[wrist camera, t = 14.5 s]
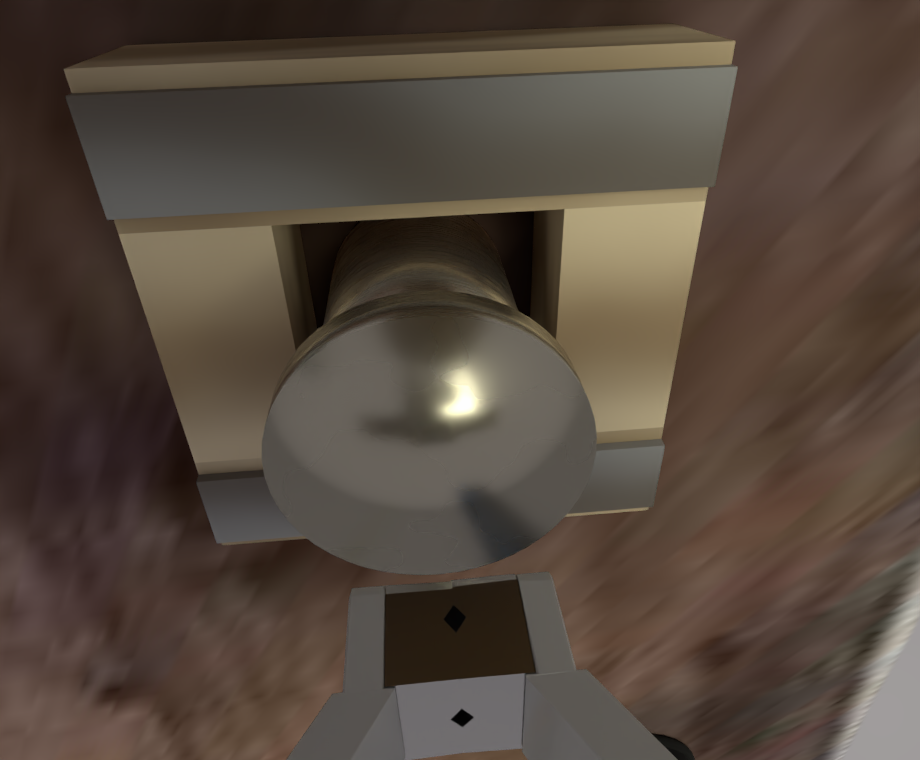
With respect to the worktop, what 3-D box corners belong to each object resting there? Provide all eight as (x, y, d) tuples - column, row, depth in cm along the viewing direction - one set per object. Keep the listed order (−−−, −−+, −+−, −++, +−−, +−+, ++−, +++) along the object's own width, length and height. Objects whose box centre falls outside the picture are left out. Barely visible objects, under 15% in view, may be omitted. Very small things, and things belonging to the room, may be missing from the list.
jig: (126, 45, 15) (56, 71, 12) (672, 23, 16) (742, 42, 13) (244, 467, 22) (220, 553, 19) (615, 438, 23) (651, 516, 20)
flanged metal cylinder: (290, 181, 17) (226, 329, 11) (530, 169, 18) (614, 305, 11) (324, 381, 21) (292, 586, 14) (523, 368, 21) (583, 561, 15)
